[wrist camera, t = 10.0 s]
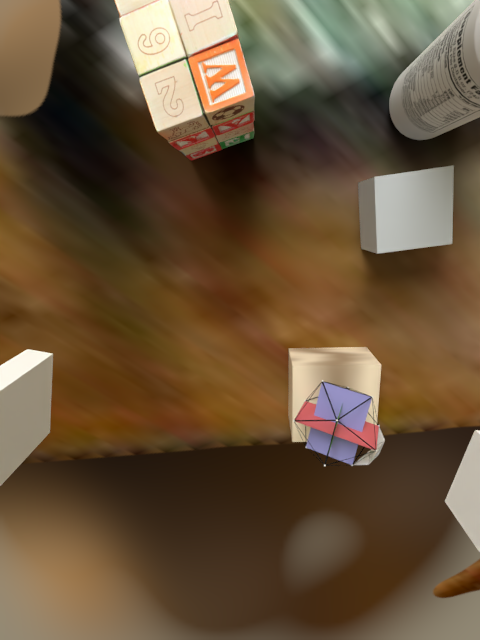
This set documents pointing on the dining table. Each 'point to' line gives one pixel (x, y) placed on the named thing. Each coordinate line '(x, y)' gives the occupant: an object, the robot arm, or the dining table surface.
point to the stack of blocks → (191, 72)
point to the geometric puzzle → (340, 424)
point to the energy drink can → (441, 82)
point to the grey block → (406, 210)
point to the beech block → (330, 378)
